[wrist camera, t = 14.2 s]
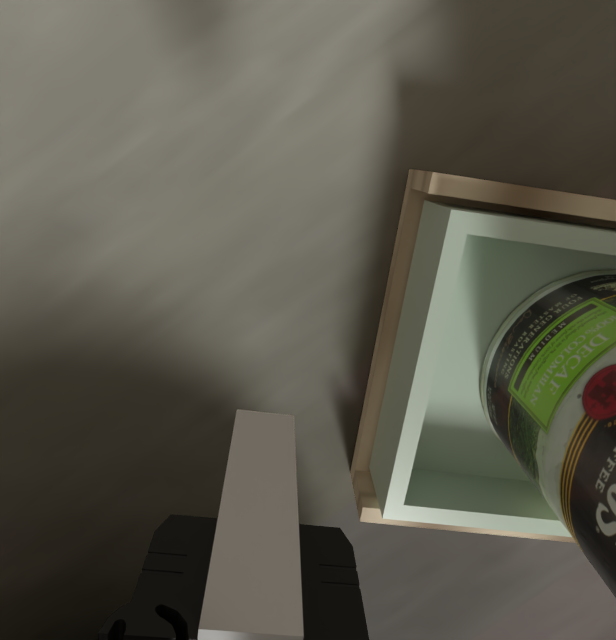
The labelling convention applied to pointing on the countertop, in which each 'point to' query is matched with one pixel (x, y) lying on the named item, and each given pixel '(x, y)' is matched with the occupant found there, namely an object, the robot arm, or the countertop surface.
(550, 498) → the coffee can
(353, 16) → the countertop surface
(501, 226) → the mint green tray
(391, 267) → the bay
